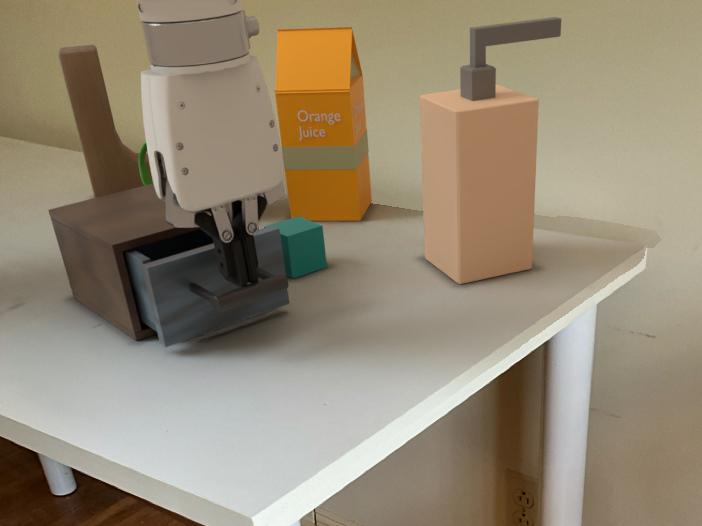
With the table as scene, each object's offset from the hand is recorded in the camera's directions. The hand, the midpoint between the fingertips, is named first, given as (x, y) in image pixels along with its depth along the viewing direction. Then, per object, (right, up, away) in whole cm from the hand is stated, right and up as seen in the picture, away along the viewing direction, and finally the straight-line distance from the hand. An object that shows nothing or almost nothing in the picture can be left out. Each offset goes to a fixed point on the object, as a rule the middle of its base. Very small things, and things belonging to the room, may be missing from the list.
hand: (241, 280), depth 77 cm
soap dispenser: (+24, +7, +17) cm, 31 cm away
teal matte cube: (+3, +7, +18) cm, 20 cm away
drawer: (-5, -1, +8) cm, 9 cm away
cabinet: (-10, +2, +14) cm, 17 cm away
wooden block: (-23, +24, +43) cm, 54 cm away
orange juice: (+5, +18, +33) cm, 38 cm away
